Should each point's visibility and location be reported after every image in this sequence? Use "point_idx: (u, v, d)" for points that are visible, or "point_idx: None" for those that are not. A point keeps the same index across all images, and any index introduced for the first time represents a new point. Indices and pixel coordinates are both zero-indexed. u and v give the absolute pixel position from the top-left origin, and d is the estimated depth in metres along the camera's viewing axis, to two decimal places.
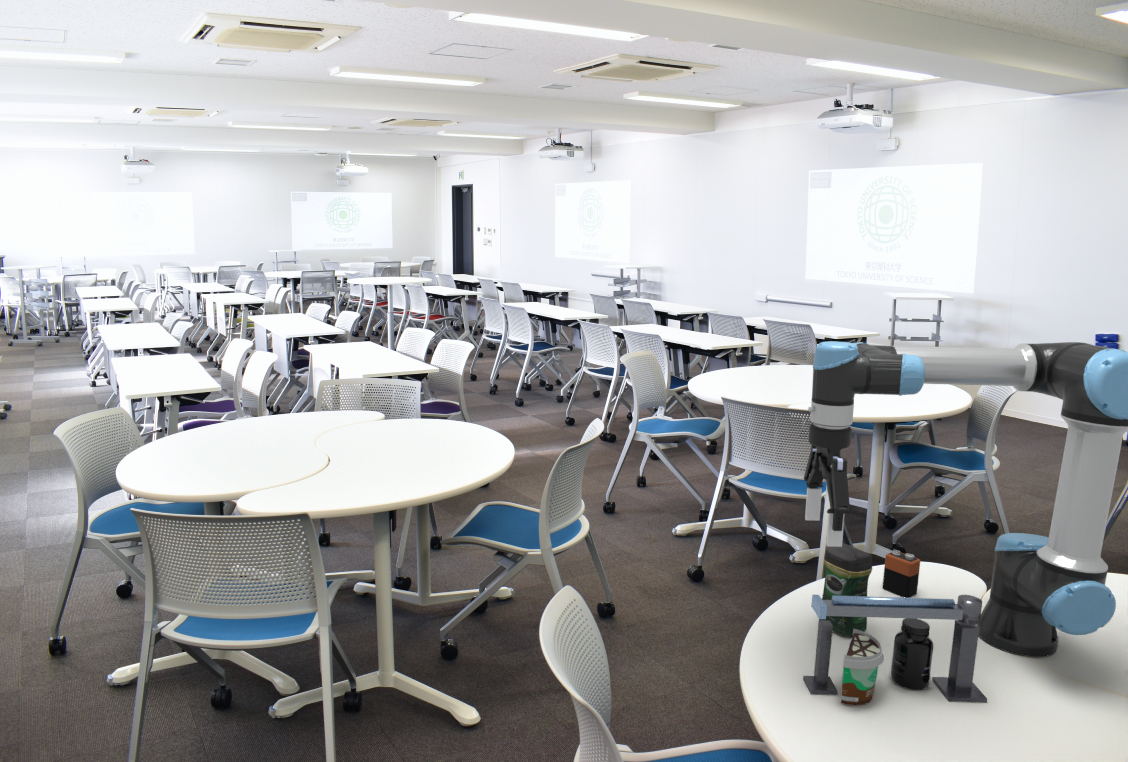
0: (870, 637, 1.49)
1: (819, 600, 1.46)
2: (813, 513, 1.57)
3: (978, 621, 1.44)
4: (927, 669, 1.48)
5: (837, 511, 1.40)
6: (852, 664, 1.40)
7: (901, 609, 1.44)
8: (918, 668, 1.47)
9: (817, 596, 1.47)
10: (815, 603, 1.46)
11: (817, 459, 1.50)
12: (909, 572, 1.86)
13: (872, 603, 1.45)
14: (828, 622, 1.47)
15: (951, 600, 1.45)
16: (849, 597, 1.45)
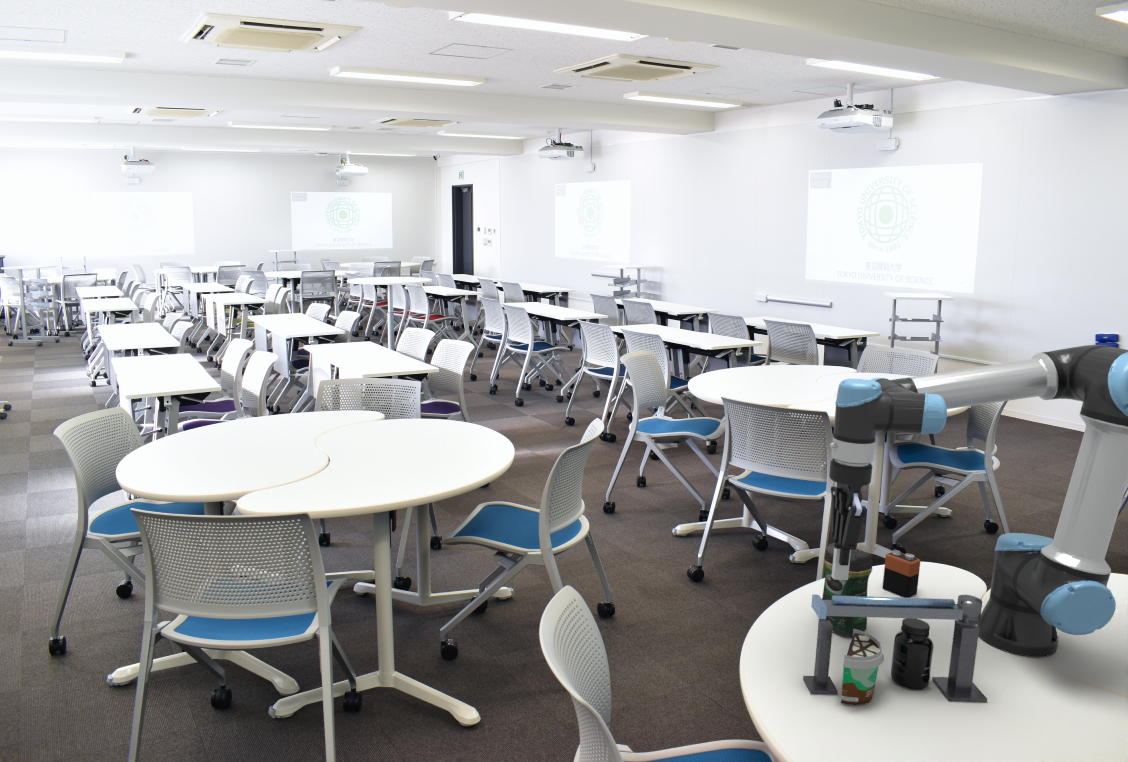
0: (870, 637, 1.49)
1: (819, 600, 1.46)
2: None
3: (978, 621, 1.44)
4: (927, 669, 1.48)
5: (844, 548, 1.49)
6: (852, 664, 1.40)
7: (901, 609, 1.44)
8: (918, 668, 1.47)
9: (817, 596, 1.47)
10: (815, 603, 1.46)
11: (838, 493, 1.51)
12: (909, 572, 1.86)
13: (872, 603, 1.45)
14: (828, 622, 1.47)
15: (951, 600, 1.45)
16: (849, 597, 1.45)
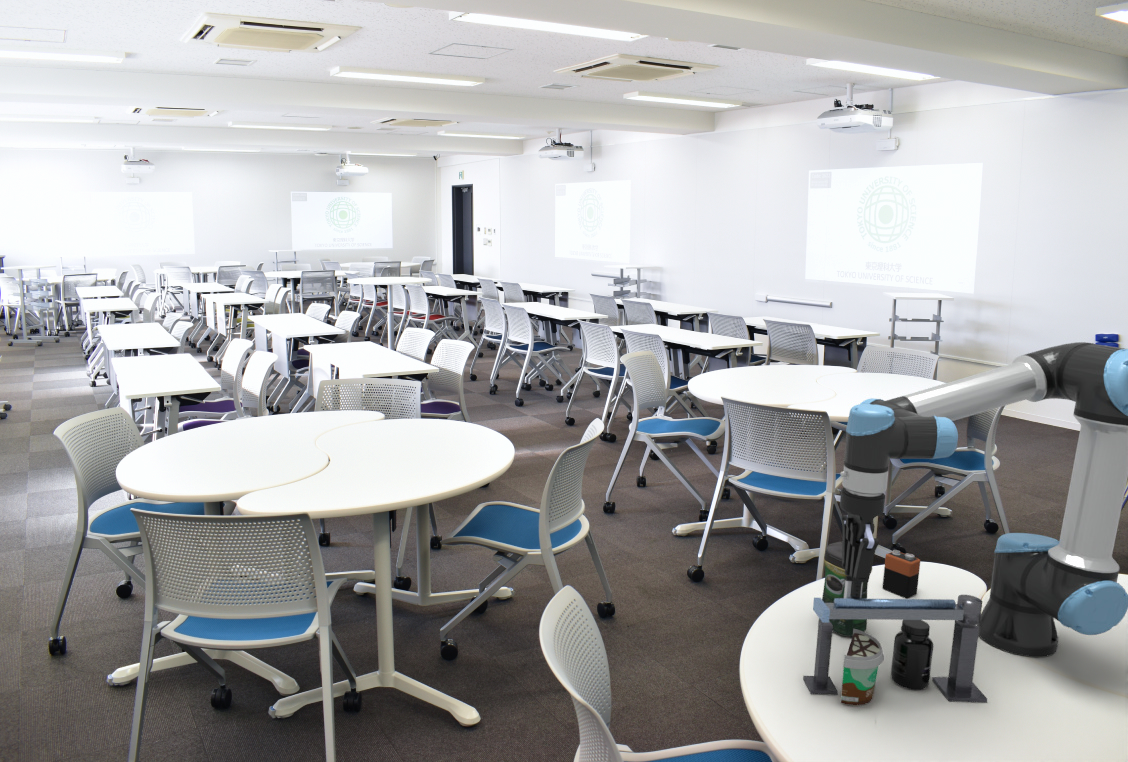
0: (870, 637, 1.49)
1: (821, 603, 1.44)
2: None
3: (978, 621, 1.44)
4: (927, 669, 1.48)
5: (855, 581, 1.42)
6: (852, 664, 1.40)
7: (903, 611, 1.44)
8: (918, 668, 1.47)
9: (819, 599, 1.46)
10: (818, 606, 1.44)
11: (849, 524, 1.44)
12: (909, 572, 1.86)
13: (874, 605, 1.44)
14: (828, 622, 1.47)
15: (952, 600, 1.45)
16: (851, 600, 1.44)
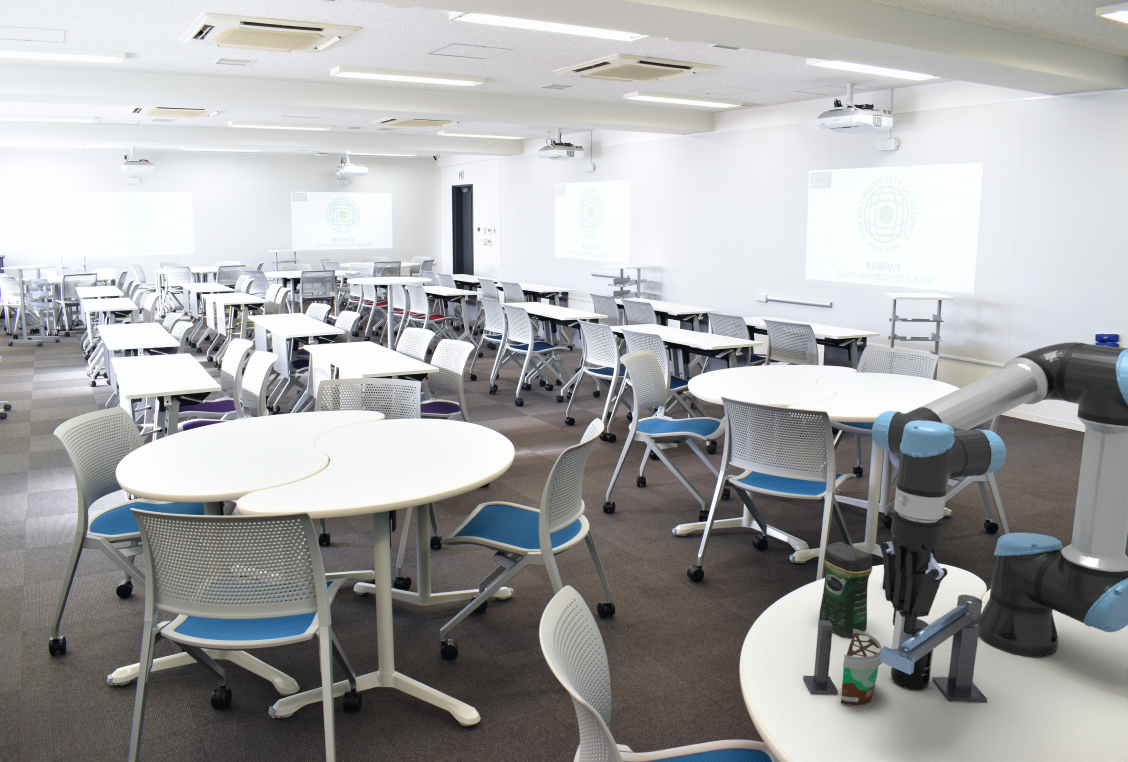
0: (870, 637, 1.49)
1: (897, 653, 1.27)
2: None
3: None
4: (927, 669, 1.48)
5: (916, 617, 1.29)
6: (852, 664, 1.40)
7: (944, 632, 1.36)
8: (918, 668, 1.47)
9: (888, 648, 1.29)
10: (895, 657, 1.27)
11: (902, 553, 1.31)
12: None
13: (929, 636, 1.33)
14: (828, 622, 1.47)
15: (963, 606, 1.43)
16: (915, 638, 1.30)
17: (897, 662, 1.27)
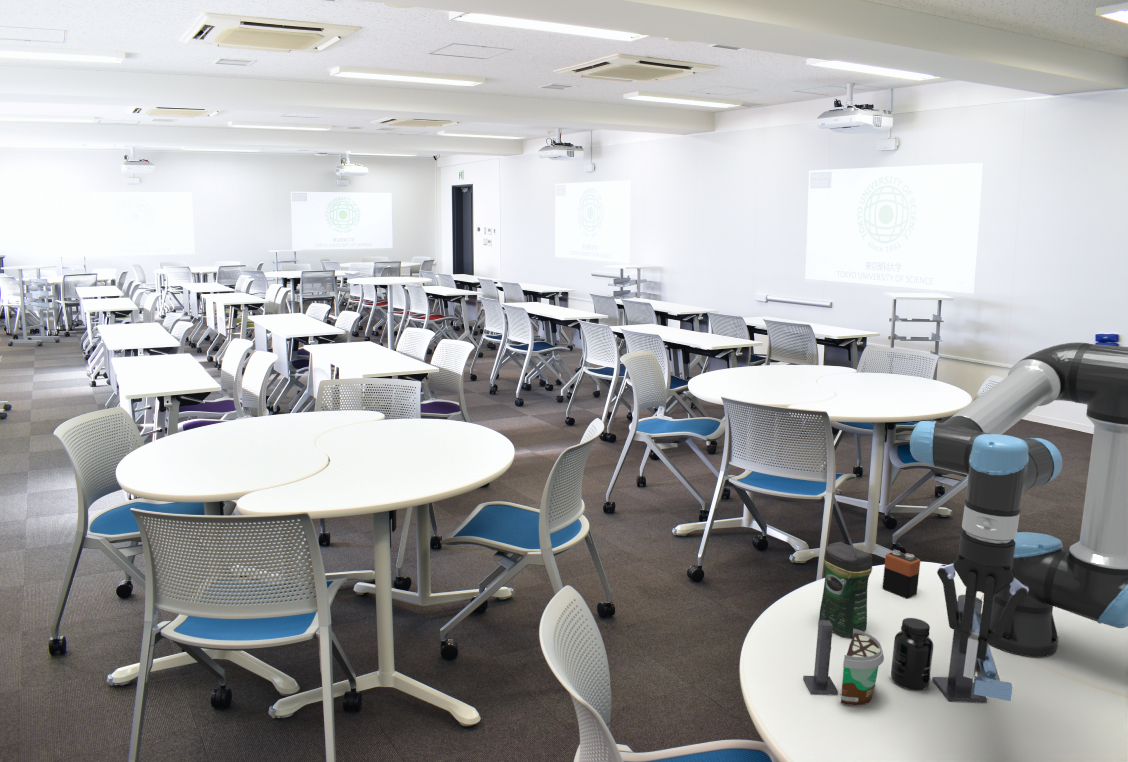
0: (870, 637, 1.49)
1: (993, 681, 1.20)
2: None
3: None
4: (927, 669, 1.48)
5: (998, 640, 1.22)
6: (852, 664, 1.40)
7: None
8: (918, 668, 1.47)
9: (980, 678, 1.20)
10: (993, 686, 1.19)
11: (976, 578, 1.22)
12: (909, 572, 1.86)
13: None
14: (828, 622, 1.47)
15: None
16: (990, 659, 1.24)
17: (995, 691, 1.19)
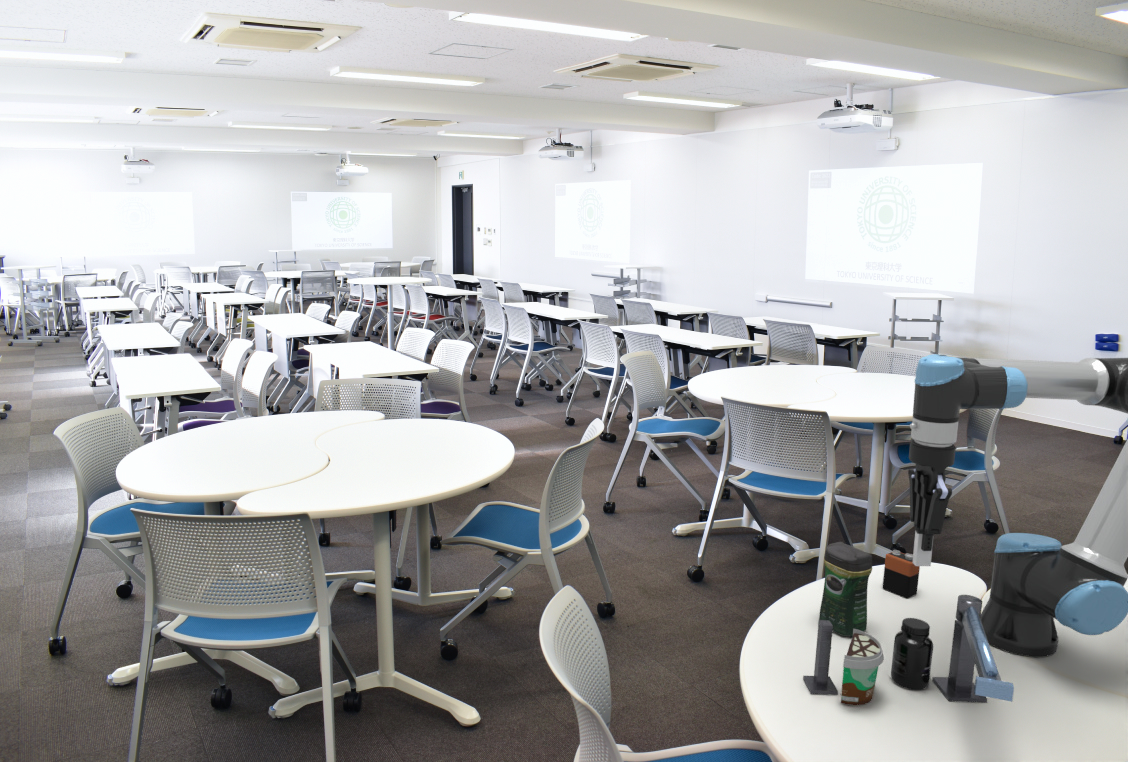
0: (870, 637, 1.49)
1: (994, 681, 1.20)
2: None
3: None
4: (927, 669, 1.48)
5: (928, 533, 1.42)
6: (852, 664, 1.40)
7: None
8: (918, 668, 1.47)
9: (982, 678, 1.20)
10: (994, 687, 1.19)
11: (918, 476, 1.45)
12: (909, 572, 1.86)
13: None
14: (828, 622, 1.47)
15: (974, 608, 1.42)
16: (991, 659, 1.24)
17: (996, 691, 1.19)
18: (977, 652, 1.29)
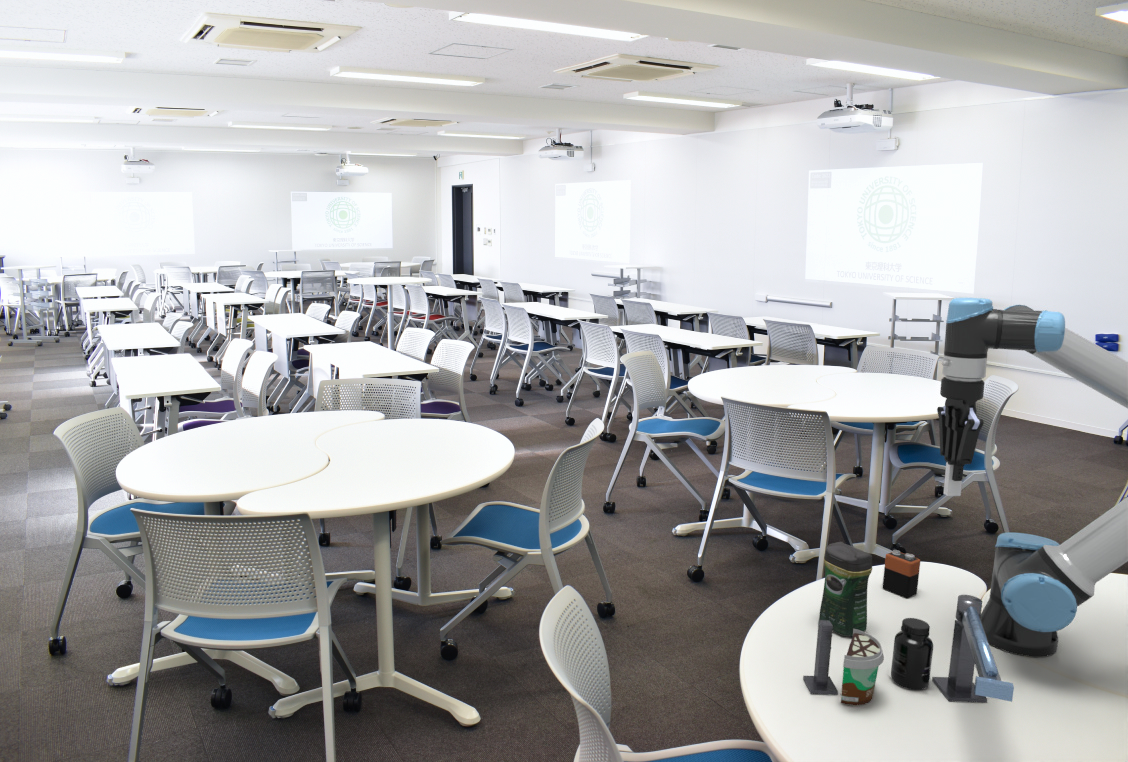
0: (870, 637, 1.49)
1: (994, 681, 1.20)
2: None
3: None
4: (927, 669, 1.48)
5: (959, 463, 1.52)
6: (852, 664, 1.40)
7: None
8: (918, 668, 1.47)
9: (982, 678, 1.20)
10: (994, 687, 1.19)
11: (949, 411, 1.55)
12: (909, 572, 1.86)
13: None
14: (828, 622, 1.47)
15: (974, 608, 1.42)
16: (991, 659, 1.24)
17: (996, 691, 1.19)
18: (977, 652, 1.29)
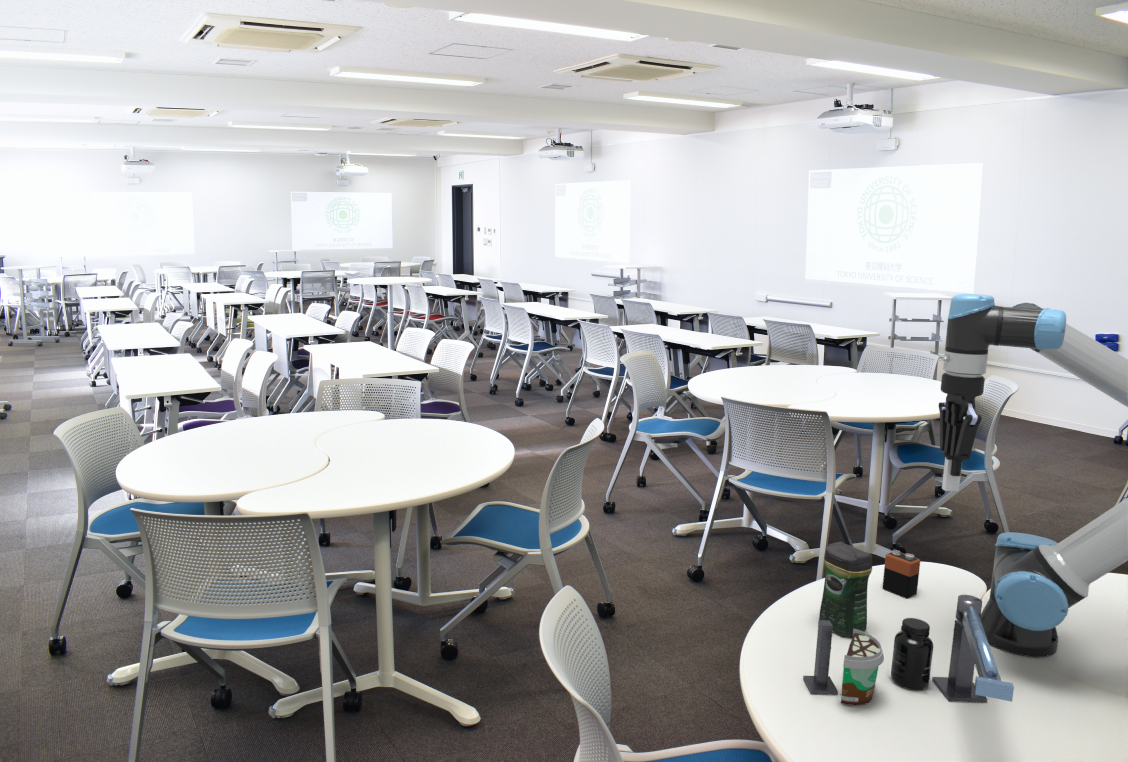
0: (870, 637, 1.49)
1: (994, 681, 1.20)
2: None
3: None
4: (927, 669, 1.48)
5: (957, 458, 1.53)
6: (852, 664, 1.40)
7: None
8: (918, 668, 1.47)
9: (982, 678, 1.20)
10: (994, 687, 1.19)
11: (949, 406, 1.56)
12: (909, 572, 1.86)
13: None
14: (828, 622, 1.47)
15: (974, 608, 1.42)
16: (991, 659, 1.24)
17: (996, 691, 1.19)
18: (977, 652, 1.29)
